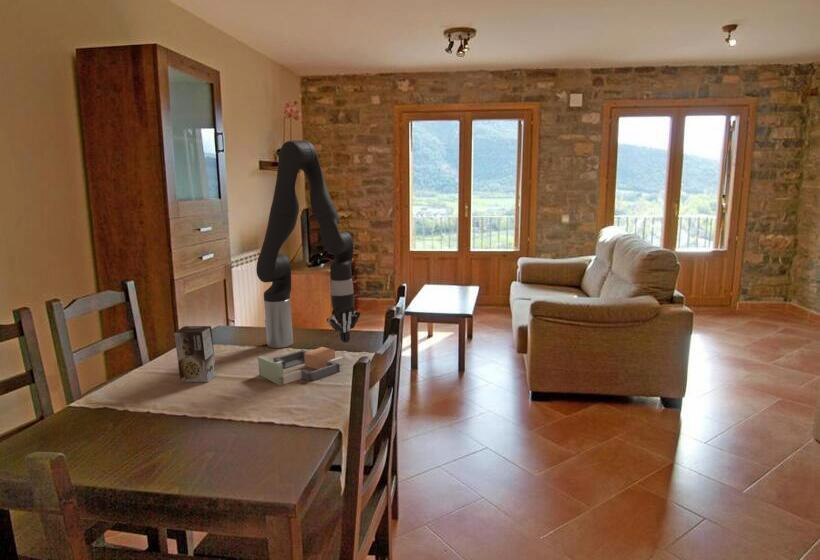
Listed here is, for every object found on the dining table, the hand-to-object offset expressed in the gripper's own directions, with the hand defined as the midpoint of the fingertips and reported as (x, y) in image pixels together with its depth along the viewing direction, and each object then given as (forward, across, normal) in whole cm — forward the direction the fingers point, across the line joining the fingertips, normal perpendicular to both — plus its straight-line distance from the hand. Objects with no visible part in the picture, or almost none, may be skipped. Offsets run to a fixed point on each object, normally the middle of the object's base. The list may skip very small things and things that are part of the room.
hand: (345, 341), depth 181 cm
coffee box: (+5, +44, -18) cm, 47 cm away
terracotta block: (+5, +10, 0) cm, 12 cm away
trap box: (+5, +16, 0) cm, 17 cm away
